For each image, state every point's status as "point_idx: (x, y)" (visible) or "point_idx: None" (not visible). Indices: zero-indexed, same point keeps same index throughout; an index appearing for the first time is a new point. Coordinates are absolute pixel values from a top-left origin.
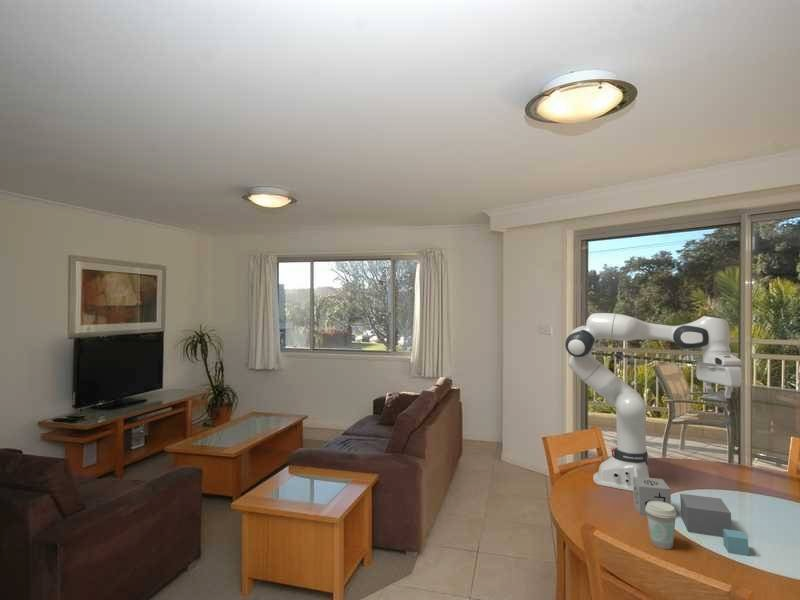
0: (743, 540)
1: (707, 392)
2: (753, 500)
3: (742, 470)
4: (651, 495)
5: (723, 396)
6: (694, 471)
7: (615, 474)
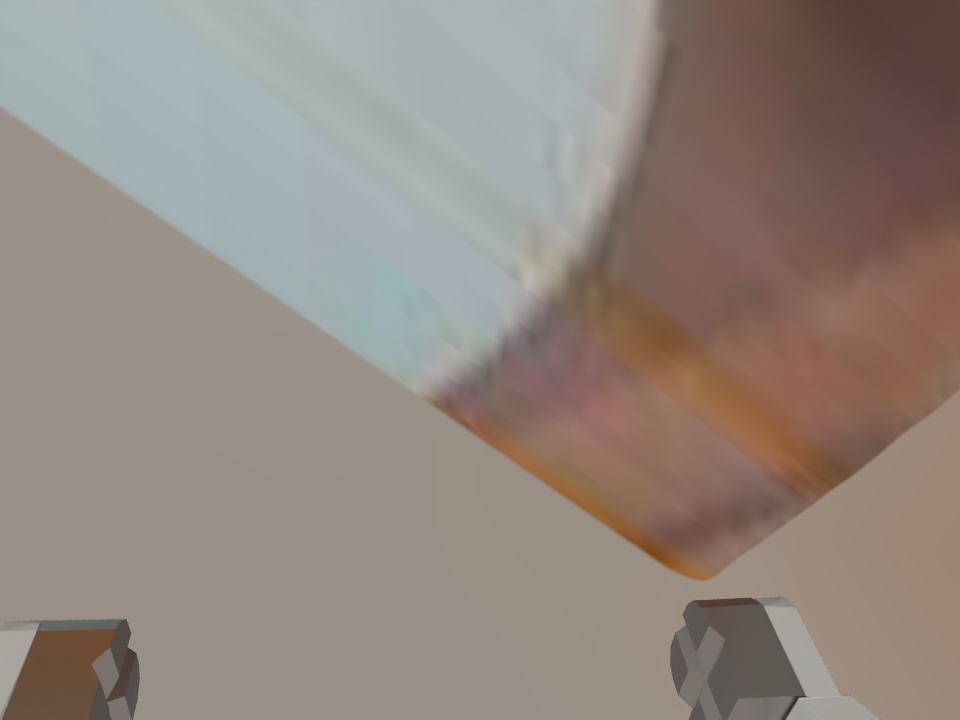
0: None
1: (753, 604)
2: (450, 240)
3: (793, 448)
4: None
5: (109, 628)
6: (884, 226)
7: None
